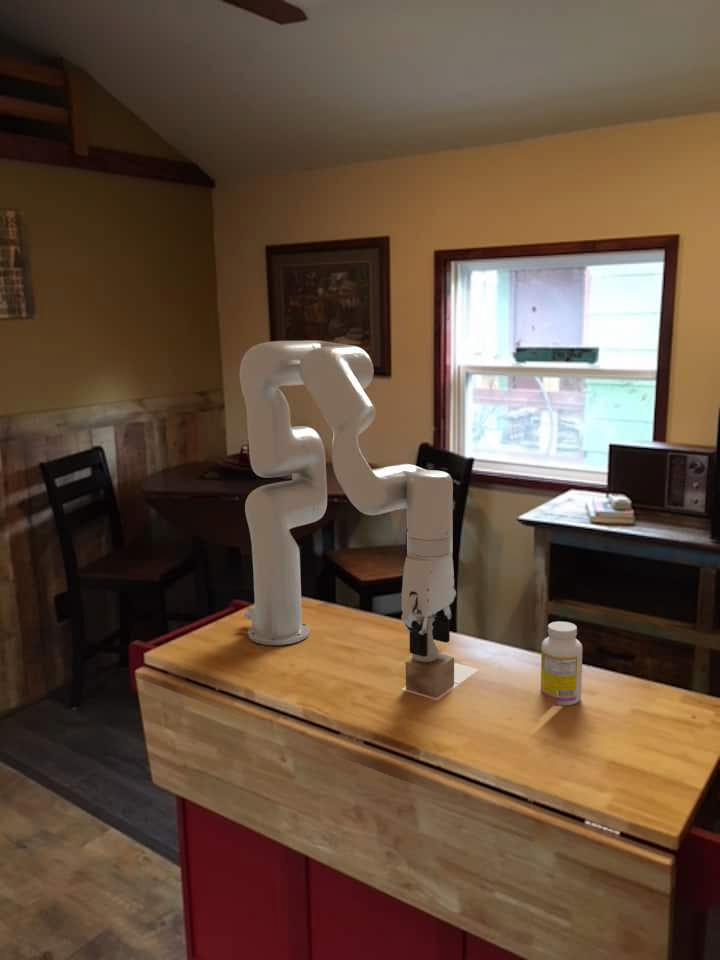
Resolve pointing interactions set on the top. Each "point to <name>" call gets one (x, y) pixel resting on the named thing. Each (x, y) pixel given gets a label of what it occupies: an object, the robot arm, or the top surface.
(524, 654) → the top surface
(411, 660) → the walnut block
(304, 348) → the robot arm
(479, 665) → the top surface
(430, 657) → the rook chess piece
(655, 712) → the top surface
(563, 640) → the supplement bottle
